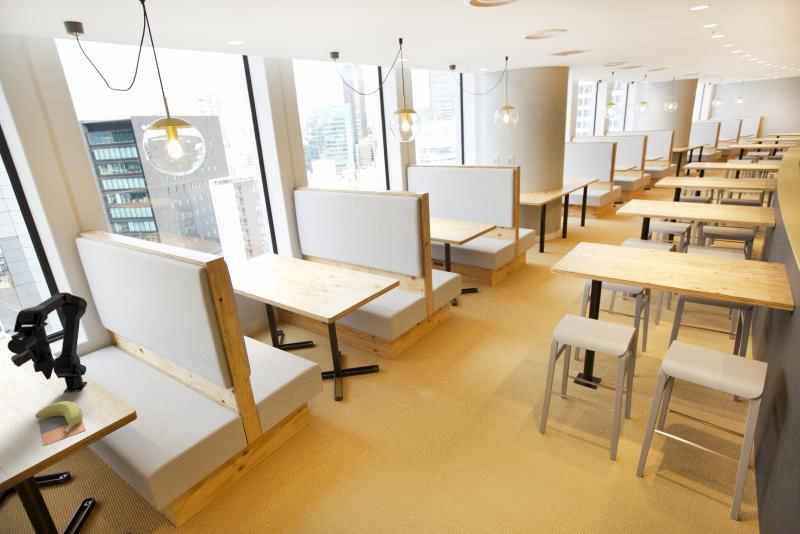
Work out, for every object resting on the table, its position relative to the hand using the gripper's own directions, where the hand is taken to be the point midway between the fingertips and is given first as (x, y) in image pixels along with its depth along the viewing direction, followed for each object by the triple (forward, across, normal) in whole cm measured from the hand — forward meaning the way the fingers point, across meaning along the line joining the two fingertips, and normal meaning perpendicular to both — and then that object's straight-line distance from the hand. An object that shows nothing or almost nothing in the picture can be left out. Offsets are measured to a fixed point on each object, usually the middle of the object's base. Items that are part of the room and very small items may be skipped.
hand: (48, 377), depth 167 cm
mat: (+13, +12, 0) cm, 18 cm away
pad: (+13, +22, 0) cm, 25 cm away
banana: (+13, +14, 0) cm, 19 cm away
